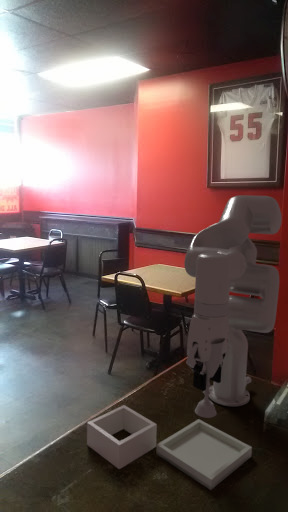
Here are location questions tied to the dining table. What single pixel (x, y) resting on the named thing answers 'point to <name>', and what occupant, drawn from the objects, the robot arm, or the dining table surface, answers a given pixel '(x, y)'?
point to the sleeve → (128, 447)
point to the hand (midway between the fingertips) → (207, 383)
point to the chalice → (205, 405)
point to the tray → (204, 453)
